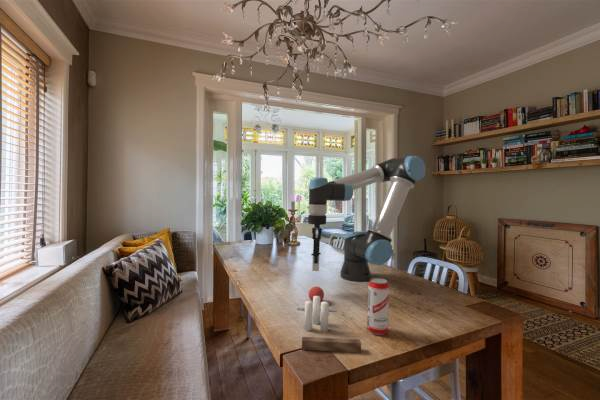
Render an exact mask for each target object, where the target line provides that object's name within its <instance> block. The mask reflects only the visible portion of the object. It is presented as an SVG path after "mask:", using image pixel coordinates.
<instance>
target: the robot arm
mask: <svg viewBox="0 0 600 400" xmlns="http://www.w3.org/2000/svg"><path fill="white" fill-rule="evenodd" d="M425 175H426V165H425V162H424V160H423V159H422V158H421V157H420V156H417V155H407V156H402V157H393V158H389V159H388V160H387V159H386V160H385V161H383V162H379V163H377V164H373V166H371V168H369V169H365V170H362V171H359V172H355V173H352V174H350V175H347V176H346V175H345V176H343V177H340V178H337V179H334V180H332V181H328V178H327V177H311V178H310V180H309V184H308V189H309V190H308V206H307V207H306V208H307V209H308V216H307V218H308V219H307V223H308V224H309V225H314V227H312V229H311V232H312V240H313V244H312V245H313V247H312V251H313V252H312V253H310V254H311V256H312V267H311V268H312V269H311V270H312V272H313V271H314V272H319V271H320V255H321V252H320V245H321V241H320V240H321V239H322V232H323V231H322V230H323V229H322V227H321V225H323V226H325V225H326V224H327V212H328V211H327V209H328V207H327V206H328V205H327V204H328V201H329V202H330V201H332V202H333V201H334V202H337V201H338V202H347V201H348V202H349V201H351V200H352V199H353V196H354V191H355V190H358V189H361V188H363V187H367V186H370V185H372V184H375V183H377V184H382V183H385V182H390V183H391V184H390V185H389V188H388V190H387V193H386V195H385V198H384V199H383V202H382V205H381V207H380V209H379V211H378V213H377V216H376V218H375V221H374V223H373V226H372V227H371V228H368V229H367V231H366V230H365V231H364V230H363V231H361V230H360V231H358V230H357V231H346V233H344V239H343V240H344V249H343V250H344V255H343V256H344V258H343V263H342V266H341V269H340V272H339V273H340V277H341V278H342V279H343V280H346V281H351V282H366V281H369V280H370V279H372V273H371V269H370V266H369V264H372V265H376V266H381V265H384V264H386V263H388V262H389V261H390V259H391V258H392V256H393V252H394V249H393V244H392V241H393V238H392V237H391V235H392V231H393V229H394V228H395V225H396V222H397V220H398V217H399V215H400V212H401V210H402V208H403V205H404V204H405V201H406V199H407V196H408V193H409V191H410V190H412V189H413V188H415V186H416V183H417V182H418V181H421V180H422V179H424V177H425Z"/></svg>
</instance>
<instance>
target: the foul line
mask: <svg viewBox="0 0 600 400" xmlns="http://www.w3.org/2000/svg"><path fill="white" fill-rule="evenodd" d="M296 310H297V311H305V307H297V308H296ZM320 312H321V307H320ZM329 312H337V311H336V308H329Z"/></svg>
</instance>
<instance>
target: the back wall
mask: <svg viewBox="0 0 600 400" xmlns="http://www.w3.org/2000/svg"><path fill="white" fill-rule="evenodd" d="M301 350H302V351H321V352H322V351H324V352H344V353H362V342H361V339H359V338H335V337H311V336H302V338H301Z"/></svg>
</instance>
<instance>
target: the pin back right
mask: <svg viewBox="0 0 600 400" xmlns="http://www.w3.org/2000/svg"><path fill="white" fill-rule="evenodd" d="M329 305H330V303H329V302H328V301H320V308H321V311H320V332H323V333H325V332H328V331H329V316H330V315H329V312H330V311H329V309H330V307H329Z"/></svg>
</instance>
